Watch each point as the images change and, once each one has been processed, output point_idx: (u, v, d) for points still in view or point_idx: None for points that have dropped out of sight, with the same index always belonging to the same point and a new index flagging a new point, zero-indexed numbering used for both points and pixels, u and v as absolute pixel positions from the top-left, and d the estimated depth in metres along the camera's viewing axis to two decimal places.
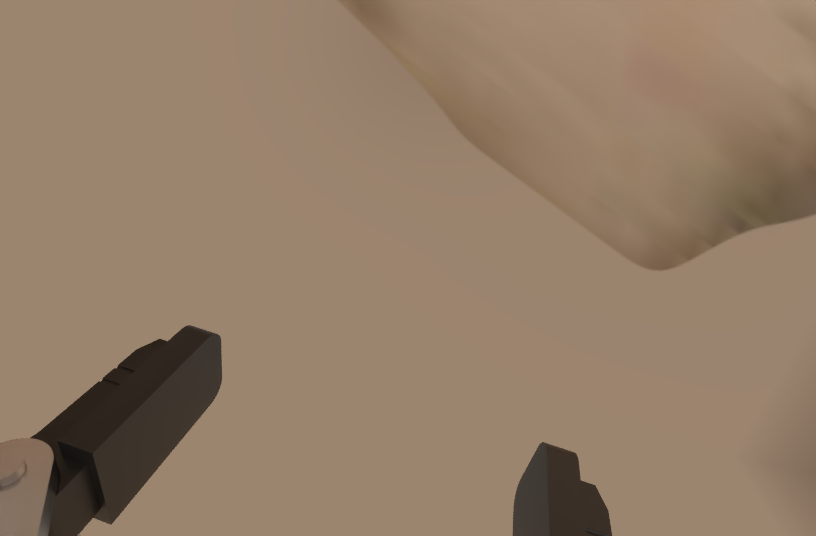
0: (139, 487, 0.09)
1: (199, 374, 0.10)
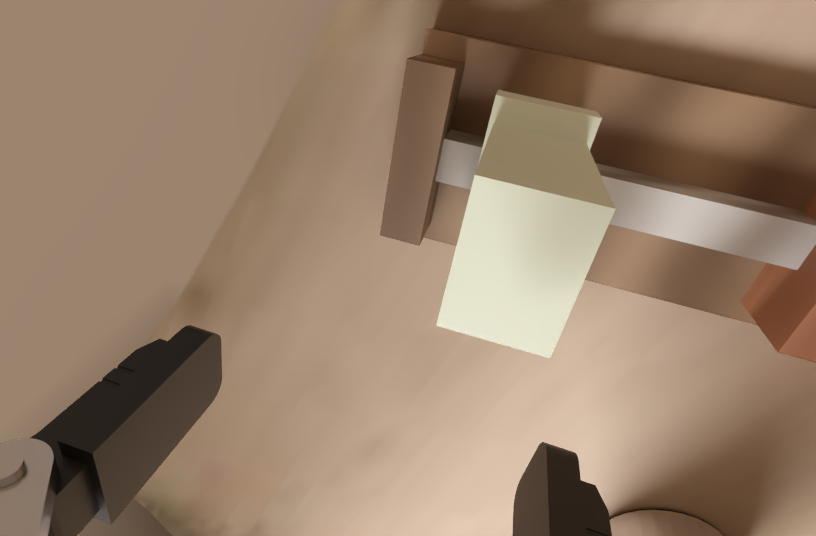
0: (139, 487, 0.09)
1: (200, 374, 0.10)
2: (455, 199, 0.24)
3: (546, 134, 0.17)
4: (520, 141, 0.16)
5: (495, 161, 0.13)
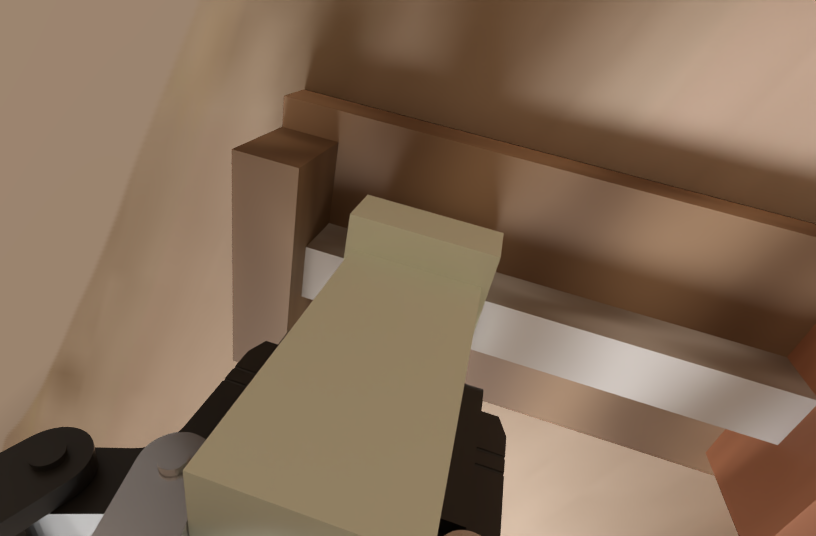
0: None
1: None
2: None
3: (424, 271, 0.12)
4: (365, 304, 0.10)
5: (270, 394, 0.08)
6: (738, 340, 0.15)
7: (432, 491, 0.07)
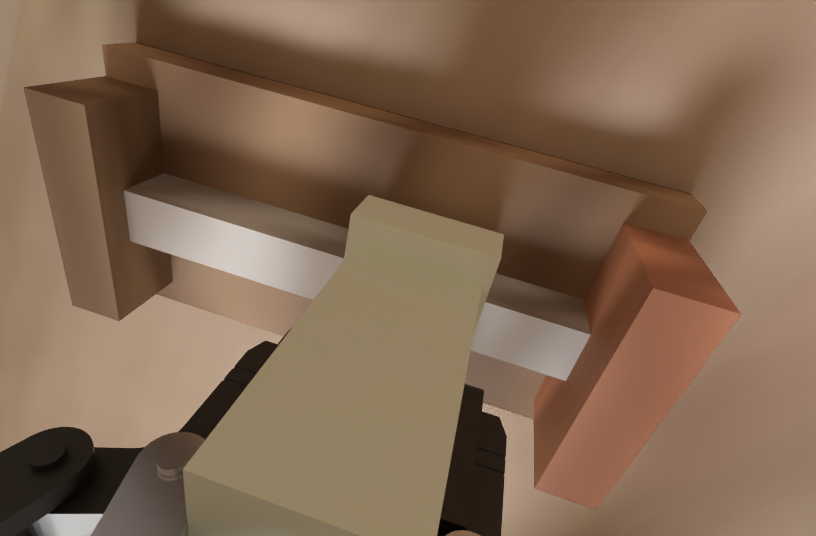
0: None
1: None
2: None
3: (424, 272, 0.12)
4: (365, 304, 0.10)
5: (270, 393, 0.08)
6: (538, 283, 0.16)
7: (432, 492, 0.07)
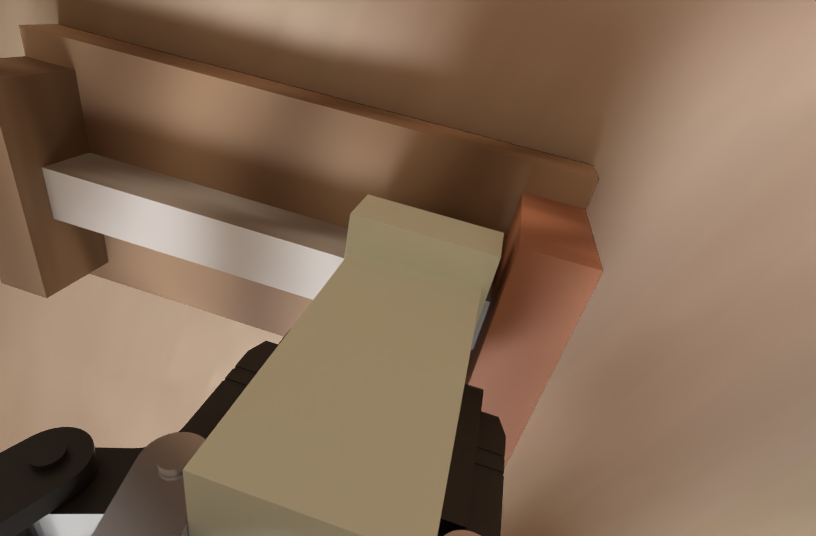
0: None
1: None
2: None
3: (424, 271, 0.12)
4: (365, 303, 0.10)
5: (270, 393, 0.08)
6: None
7: (432, 491, 0.07)
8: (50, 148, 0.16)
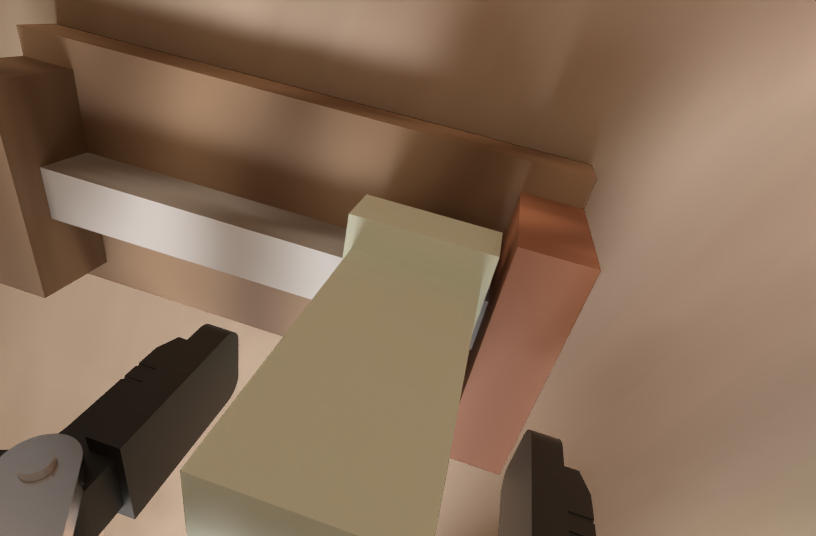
0: (161, 483, 0.10)
1: (218, 372, 0.11)
2: None
3: (423, 271, 0.12)
4: (364, 304, 0.10)
5: (268, 394, 0.08)
6: None
7: (430, 491, 0.07)
8: (48, 148, 0.16)
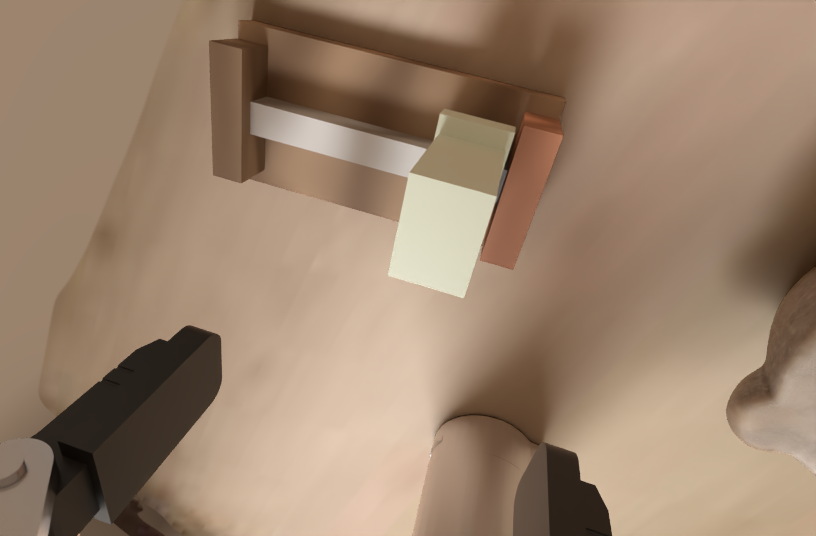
0: (139, 487, 0.09)
1: (200, 374, 0.10)
2: (278, 151, 0.31)
3: (476, 143, 0.24)
4: (453, 148, 0.22)
5: (427, 163, 0.19)
6: None
7: (493, 187, 0.19)
8: (254, 91, 0.28)
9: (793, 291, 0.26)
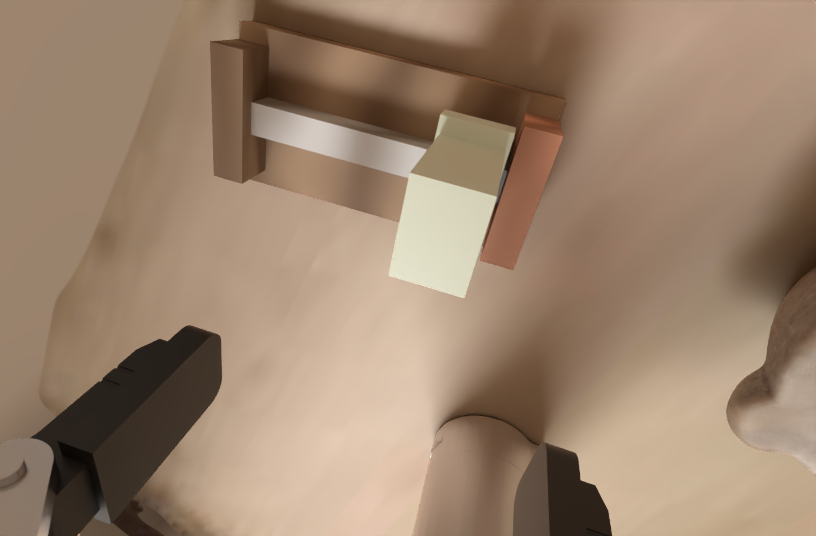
0: (139, 487, 0.09)
1: (200, 374, 0.10)
2: (279, 151, 0.31)
3: (476, 144, 0.24)
4: (453, 149, 0.22)
5: (428, 163, 0.20)
6: None
7: (494, 187, 0.19)
8: (255, 91, 0.28)
9: (793, 291, 0.26)
